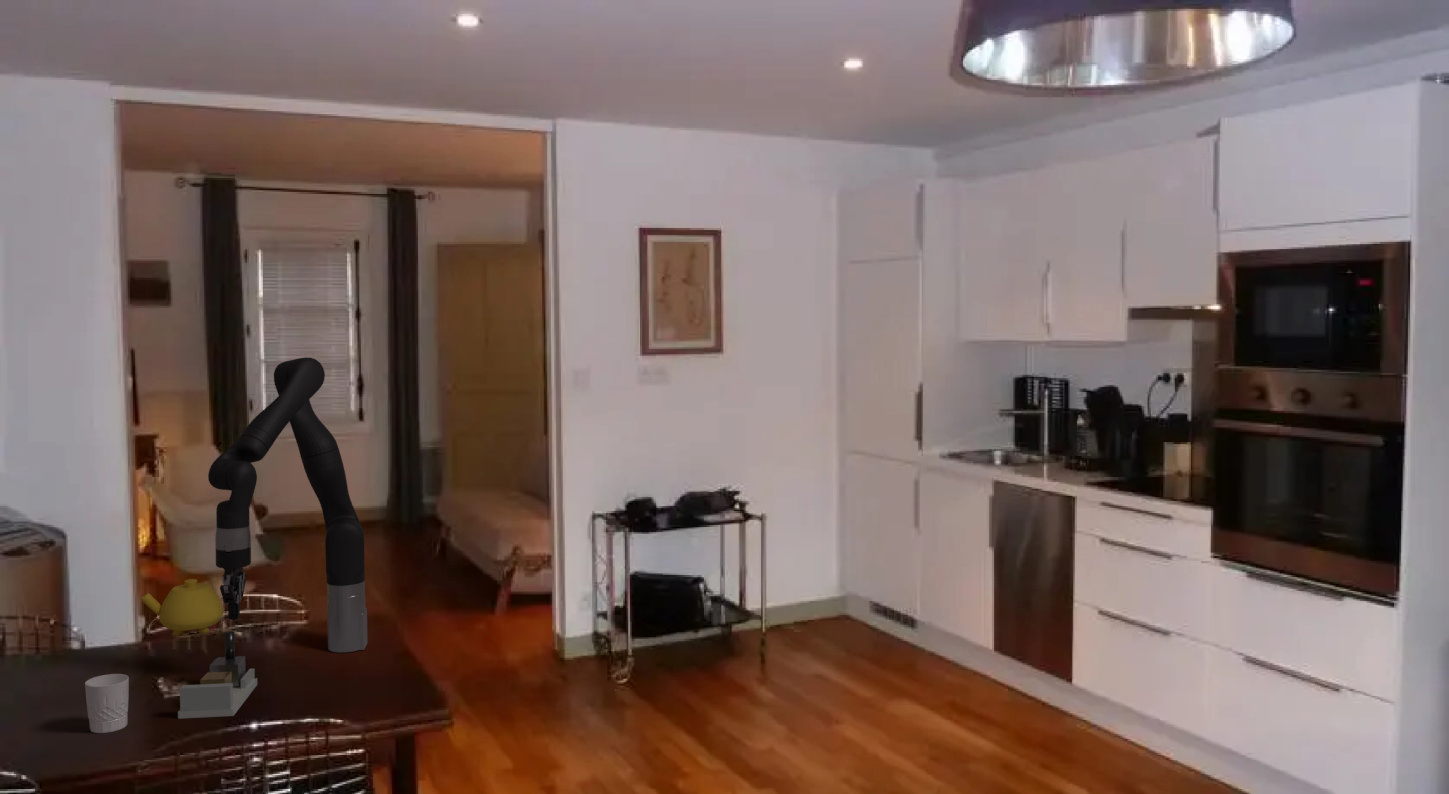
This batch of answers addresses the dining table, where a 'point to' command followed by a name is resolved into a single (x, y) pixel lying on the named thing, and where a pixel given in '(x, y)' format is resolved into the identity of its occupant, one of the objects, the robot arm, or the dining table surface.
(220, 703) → the press
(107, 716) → the white cup
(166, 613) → the teapot
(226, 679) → the tan cube
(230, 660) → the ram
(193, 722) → the dining table surface
